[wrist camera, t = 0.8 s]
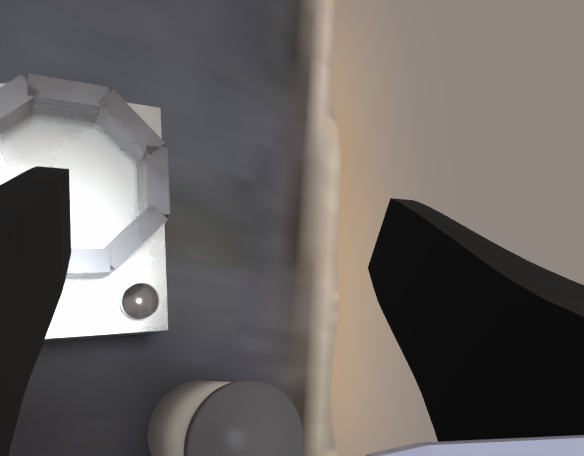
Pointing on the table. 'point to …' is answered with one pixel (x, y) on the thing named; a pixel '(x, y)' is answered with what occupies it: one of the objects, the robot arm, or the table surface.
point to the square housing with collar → (97, 199)
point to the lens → (225, 421)
